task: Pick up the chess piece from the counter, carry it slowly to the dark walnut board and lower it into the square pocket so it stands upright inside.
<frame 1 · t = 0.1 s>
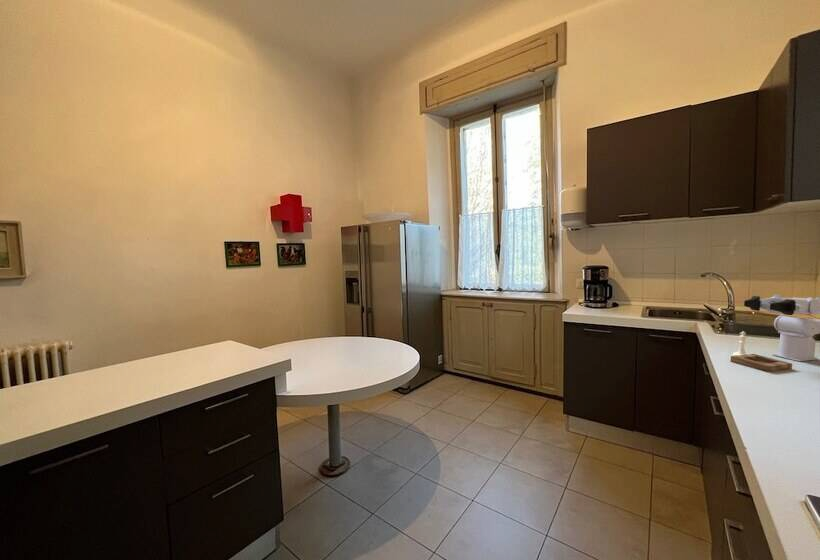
hand: (757, 304, 119), 22 cm above the counter, tool horizontal, fingers open, 7 cm apart
socket board: (760, 365, 117), on the counter
chess piece: (741, 356, 127), on the counter
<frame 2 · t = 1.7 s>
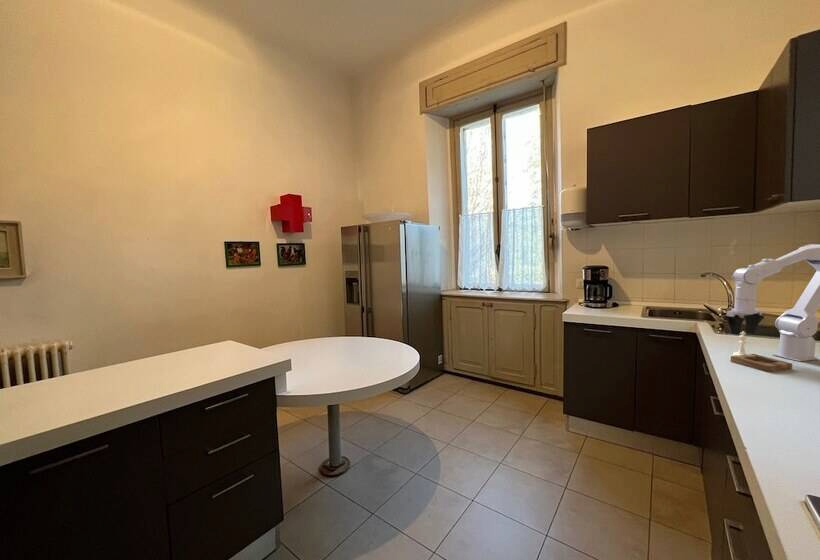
hand: (742, 333, 126), 9 cm above the counter, tool pointing down, fingers open, 7 cm apart
nothing on the counter moved.
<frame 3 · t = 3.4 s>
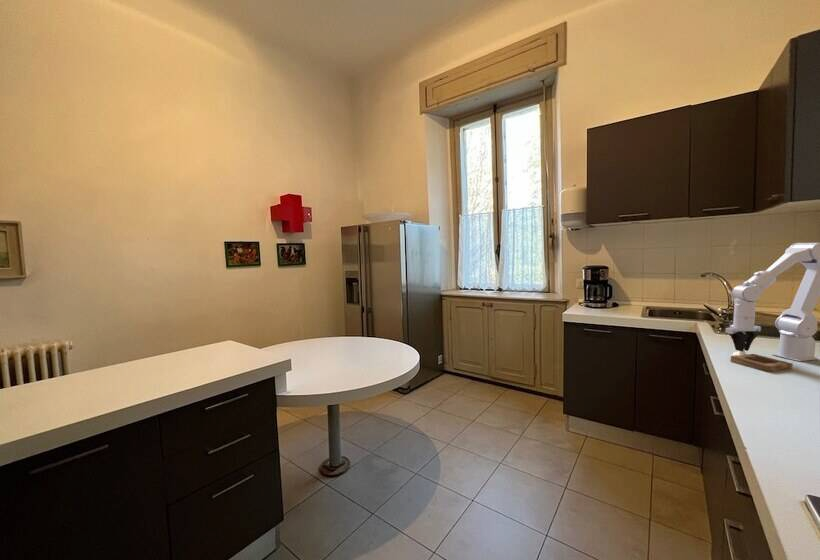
hand: (741, 350, 127), 2 cm above the counter, tool pointing down, fingers closed on chess piece
chess piece: (741, 356, 127), on the counter, touching gripper
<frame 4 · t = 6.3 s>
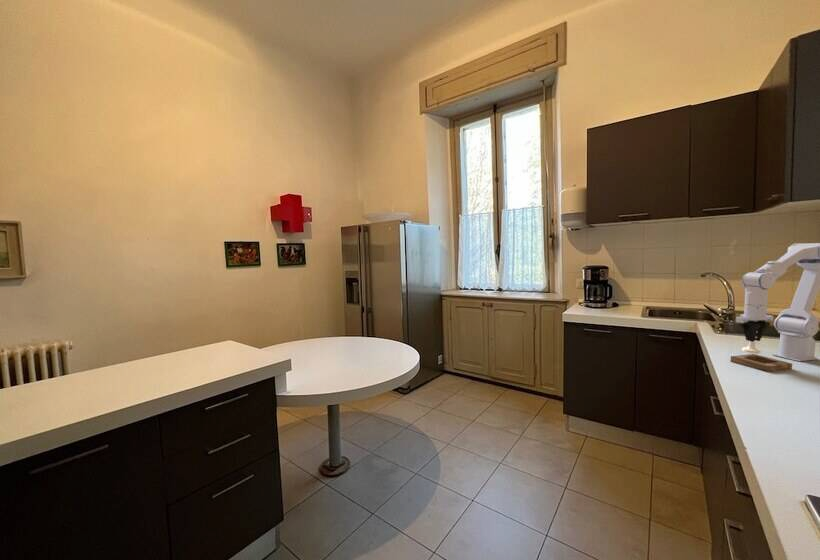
hand: (753, 340, 121), 8 cm above the counter, tool pointing down, fingers closed on chess piece, 2 cm apart
chess piece: (751, 351, 122), point 3 cm above the counter, touching gripper
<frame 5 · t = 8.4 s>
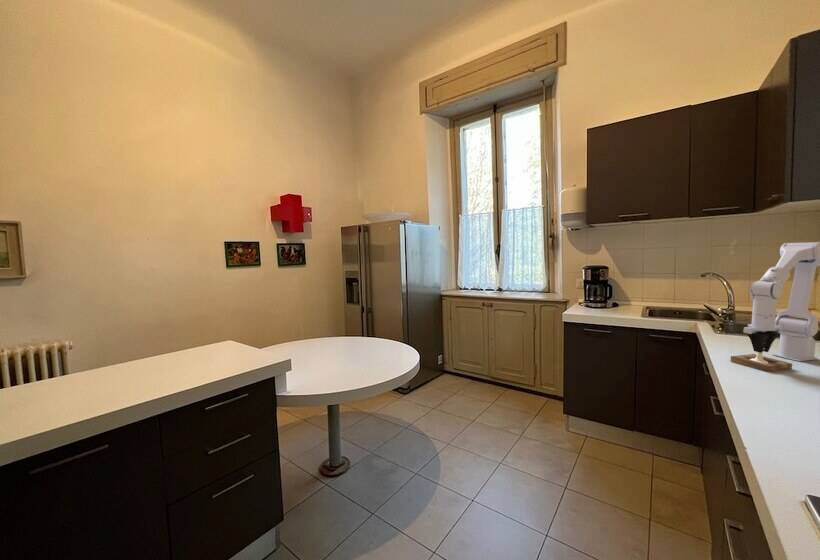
hand: (760, 351, 117), 5 cm above the counter, tool pointing down, fingers closed on chess piece, 2 cm apart
chess piece: (758, 363, 118), resting on socket board, touching gripper
when the fingers open (4 cm above the counter, at t = 9.7 s): chess piece stays where it is, resting on socket board.
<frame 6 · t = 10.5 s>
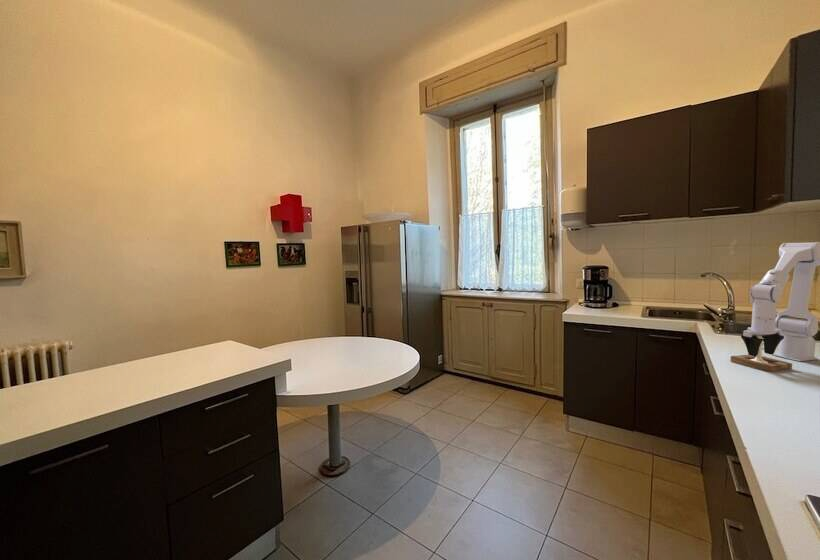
hand: (760, 354, 117), 4 cm above the counter, tool pointing down, fingers open, 7 cm apart
chess piece: (758, 363, 118), resting on socket board
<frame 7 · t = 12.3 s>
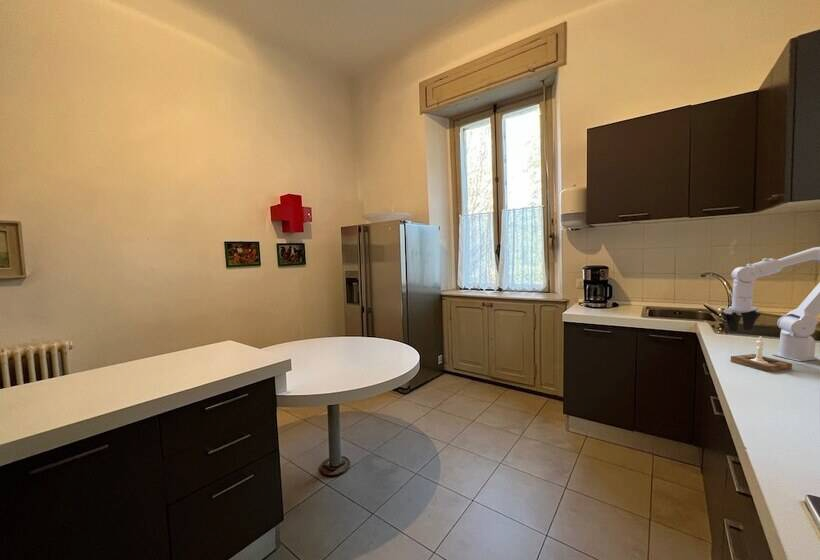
hand: (740, 330, 130), 9 cm above the counter, tool pointing down, fingers open, 7 cm apart
nothing on the counter moved.
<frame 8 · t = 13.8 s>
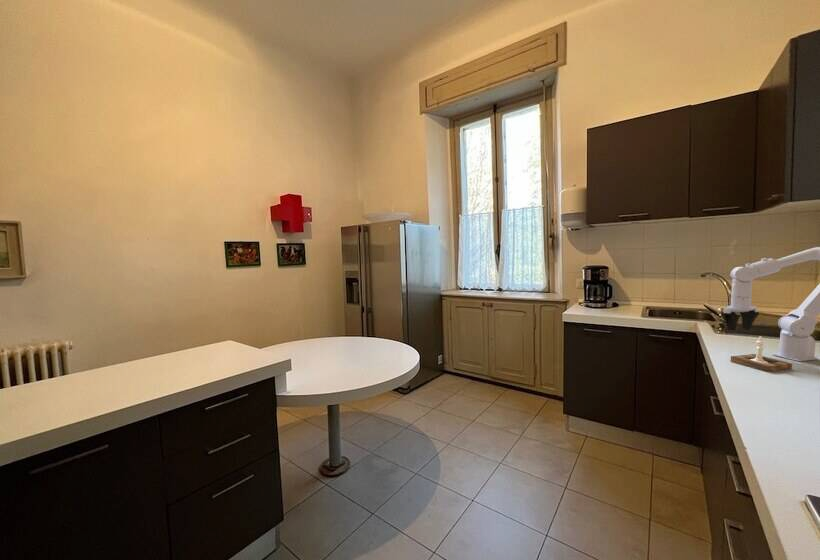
hand: (739, 329, 131), 9 cm above the counter, tool pointing down, fingers open, 7 cm apart
nothing on the counter moved.
at the end: chess piece 0.5 cm off-centre on the socket board, point 0.3 cm above the socket board's base; chess piece tilted 0°; the gripper is holding nothing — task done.
